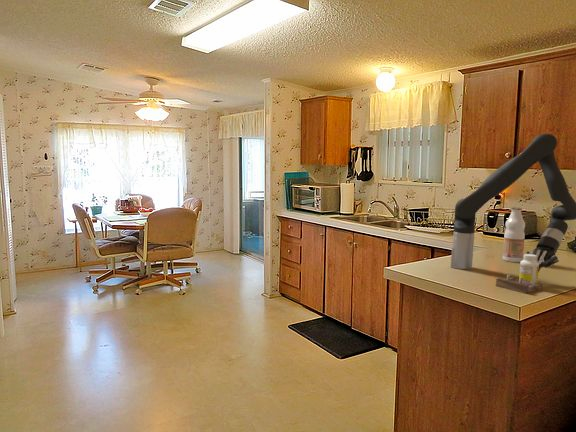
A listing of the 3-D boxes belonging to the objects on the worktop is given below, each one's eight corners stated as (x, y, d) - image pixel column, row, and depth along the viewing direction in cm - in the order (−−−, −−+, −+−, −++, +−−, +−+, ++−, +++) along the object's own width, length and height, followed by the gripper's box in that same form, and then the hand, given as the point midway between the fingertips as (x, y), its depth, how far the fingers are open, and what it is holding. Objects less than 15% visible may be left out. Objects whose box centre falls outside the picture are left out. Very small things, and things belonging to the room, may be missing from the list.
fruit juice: (498, 259, 221) (502, 207, 217) (508, 257, 226) (512, 206, 223) (516, 263, 213) (521, 208, 210) (526, 261, 218) (530, 207, 215)
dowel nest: (512, 281, 177) (513, 270, 177) (541, 289, 167) (542, 276, 167) (495, 285, 171) (496, 273, 170) (525, 293, 161) (526, 280, 160)
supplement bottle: (530, 283, 176) (533, 253, 174) (540, 288, 169) (543, 256, 167) (515, 283, 175) (517, 253, 174) (524, 287, 169) (527, 256, 167)
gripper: (531, 233, 183) (514, 264, 177) (564, 237, 172) (547, 270, 166) (536, 244, 186) (520, 274, 181) (569, 249, 175) (553, 281, 170)
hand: (533, 272), depth 174 cm, fingers closed
